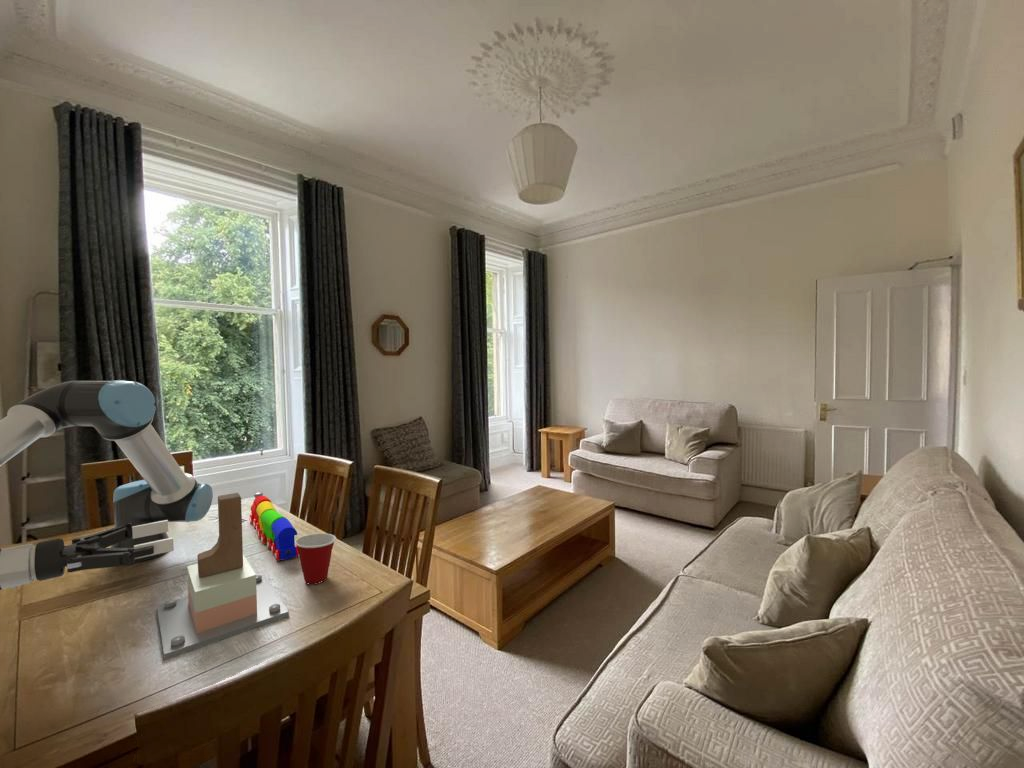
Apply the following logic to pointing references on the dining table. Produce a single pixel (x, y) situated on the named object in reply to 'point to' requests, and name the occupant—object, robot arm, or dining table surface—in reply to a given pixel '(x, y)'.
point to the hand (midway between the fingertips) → (170, 534)
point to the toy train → (273, 528)
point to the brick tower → (217, 609)
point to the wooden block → (225, 539)
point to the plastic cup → (315, 556)
